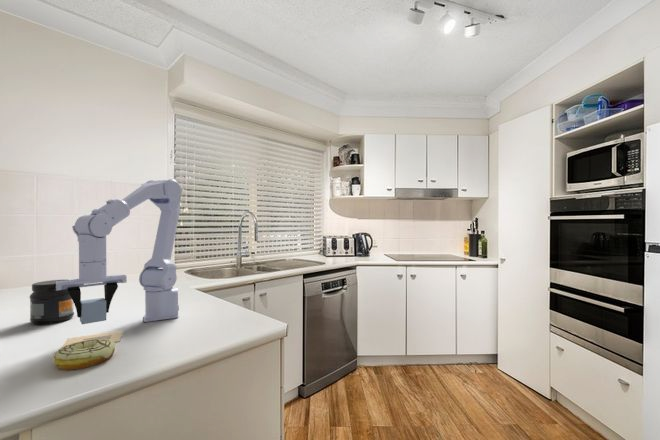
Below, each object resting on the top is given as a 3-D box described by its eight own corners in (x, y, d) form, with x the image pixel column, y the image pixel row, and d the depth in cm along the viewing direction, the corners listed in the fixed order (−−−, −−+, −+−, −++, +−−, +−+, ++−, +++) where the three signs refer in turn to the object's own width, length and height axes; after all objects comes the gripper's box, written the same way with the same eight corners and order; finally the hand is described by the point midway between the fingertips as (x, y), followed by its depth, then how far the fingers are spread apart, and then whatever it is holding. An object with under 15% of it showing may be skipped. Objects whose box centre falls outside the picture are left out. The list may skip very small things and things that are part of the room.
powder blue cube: (103, 316, 87) (103, 297, 87) (106, 320, 83) (106, 300, 83) (79, 320, 83) (79, 300, 83) (81, 324, 79) (81, 304, 80)
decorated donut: (120, 361, 71) (120, 343, 71) (56, 378, 63) (56, 359, 63) (109, 348, 78) (109, 332, 78) (51, 362, 71) (51, 344, 71)
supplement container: (82, 315, 105) (82, 279, 105) (51, 326, 95) (51, 285, 95) (53, 315, 106) (53, 278, 107) (19, 325, 96) (19, 285, 96)
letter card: (122, 331, 90) (122, 330, 90) (119, 341, 82) (119, 340, 82) (67, 339, 84) (67, 338, 84) (59, 351, 76) (59, 350, 76)
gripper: (122, 257, 91) (123, 306, 91) (55, 262, 81) (55, 316, 81) (128, 259, 86) (128, 311, 86) (56, 265, 76) (56, 322, 76)
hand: (93, 314), depth 83 cm, fingers closed on powder blue cube, 5 cm apart
